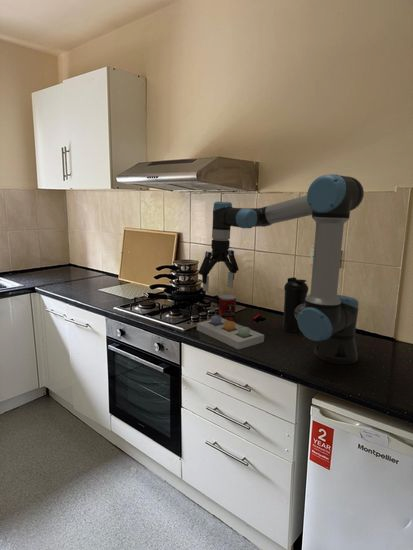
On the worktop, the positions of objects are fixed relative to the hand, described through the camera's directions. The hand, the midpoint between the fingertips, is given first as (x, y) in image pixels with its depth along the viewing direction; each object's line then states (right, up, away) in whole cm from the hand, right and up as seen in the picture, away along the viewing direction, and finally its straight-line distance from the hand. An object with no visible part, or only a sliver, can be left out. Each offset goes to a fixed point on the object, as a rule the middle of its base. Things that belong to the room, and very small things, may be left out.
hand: (218, 289), depth 165 cm
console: (+4, -19, -4) cm, 20 cm away
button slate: (-1, -16, +2) cm, 16 cm away
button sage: (+10, -19, -11) cm, 24 cm away
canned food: (+5, -15, +18) cm, 24 cm away
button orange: (+5, -17, -4) cm, 18 cm away
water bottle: (+33, -18, +7) cm, 39 cm away
